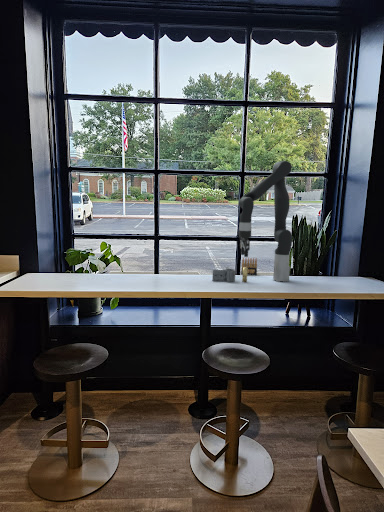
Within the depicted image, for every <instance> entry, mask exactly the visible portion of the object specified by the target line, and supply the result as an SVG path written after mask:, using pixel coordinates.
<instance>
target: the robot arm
mask: <svg viewBox="0 0 384 512" xmlns="http://www.w3.org/2000/svg"><path fill="white" fill-rule="evenodd" d="M292 166H293V165H292V164H291V162H290V161H288V160H281V161H277V162H275V163H274V164H273V167H272V173H271V174H270V175H268V176H266V178H264V179H262V180H261V181H260V182H259V183H257V184H256V185H255V186H254V187H253V188H252V189H251V190H250V191H249V192H247V193H246V194H244V195H243V196H242V197H241V198H240V199H239V200H238V206H239V207H240V209H241V210H242V212H241V213H240V214H239V225H238V226H239V227H238V237H239V241H240V242H239V248H240V256H241V255H242V256H244V257H243V258H249V251H250V244H251V243H250V242H251V241H250V240H249V239H250V238H252V214H253V211H254V207H255V206H254V204H255V203H254V201H256V200H259V199H260V198H261V197H263V196H264V194H265V193H266V192H268V191H269V190H270V189H271V188H274V189H273V191H274V193H273V194H274V195H273V196H274V199H273V201H274V202H273V203H274V206H273V207H274V231H273V237H274V241H276V242H277V248H275V249H274V260H273V276H272V277H273V278H272V280H273V279H274V280H273V281H275V280H276V282H280V281H283V282H289V281H290V272H291V271H290V270H291V266H289V265H290V255H291V254H290V252H291V250H292V245H293V234H292V232H291V231H290V230H288V229H287V225H286V224H287V222H286V221H287V217H288V215H289V212H290V195H289V192H288V189H287V188H286V180H285V179H286V177H287V176H288V175H290V174H291V172H292V169H293V167H292ZM273 186H274V187H273Z"/></svg>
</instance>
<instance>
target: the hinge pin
mask: <svg viewBox="0 0 384 512" xmlns="http://www.w3.org/2000/svg"><path fill="white" fill-rule="evenodd" d="M247 271H248V268H247V267H243V275H242V279H241V282H242V283H247V282H248V275H247Z"/></svg>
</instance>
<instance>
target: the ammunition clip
mask: <svg viewBox="0 0 384 512" xmlns="http://www.w3.org/2000/svg"><path fill="white" fill-rule="evenodd" d="M244 258H245V259H244ZM257 261H258V258H257V257H253V258H252V257H250V258H249V257H242V263H241V270H240V271H241V272H240V275H243V267H247V268H248V271H247V276H257V275H258V262H257Z"/></svg>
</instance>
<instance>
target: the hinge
mask: <svg viewBox="0 0 384 512" xmlns="http://www.w3.org/2000/svg"><path fill="white" fill-rule="evenodd" d="M212 282H227V283H235V282H236V269H233V268H229V267H228V266H225V268H224V269H212Z"/></svg>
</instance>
